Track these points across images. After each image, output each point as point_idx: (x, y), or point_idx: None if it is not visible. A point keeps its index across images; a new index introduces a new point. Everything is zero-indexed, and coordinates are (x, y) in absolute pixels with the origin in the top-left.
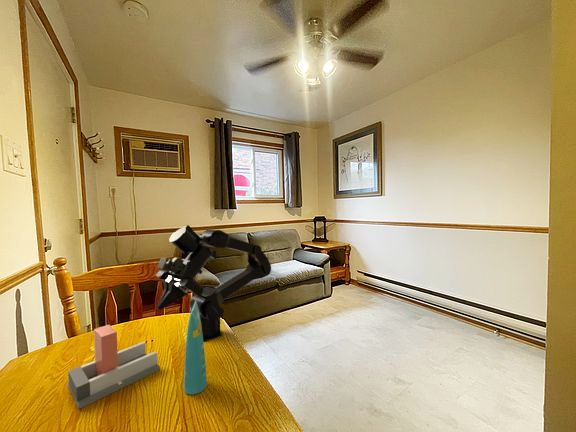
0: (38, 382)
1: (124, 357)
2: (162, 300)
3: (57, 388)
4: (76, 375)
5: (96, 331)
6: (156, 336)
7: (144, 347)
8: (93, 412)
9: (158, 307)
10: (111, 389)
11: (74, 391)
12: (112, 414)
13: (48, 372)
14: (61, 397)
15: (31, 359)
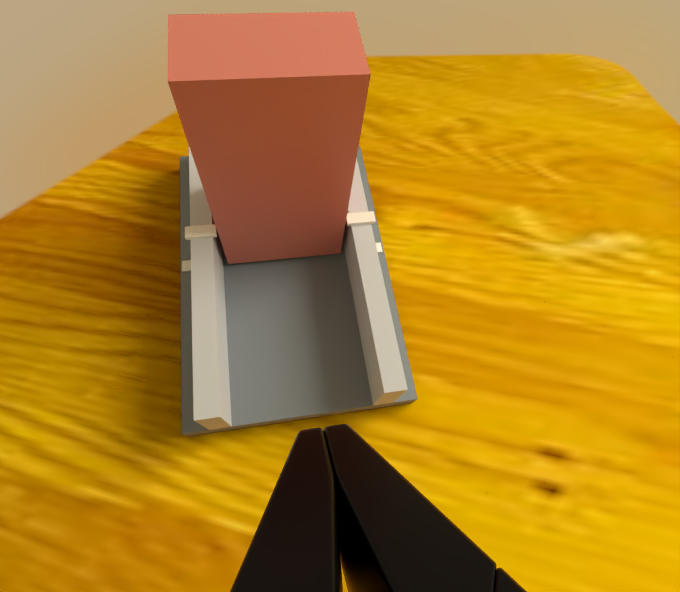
0: (445, 105)
1: (358, 298)
2: (295, 528)
3: (364, 137)
4: None
5: (297, 13)
6: (595, 525)
7: (378, 393)
8: (125, 195)
9: (296, 441)
10: (181, 240)
11: None
12: (55, 233)
13: (495, 124)
14: None
15: (627, 96)
